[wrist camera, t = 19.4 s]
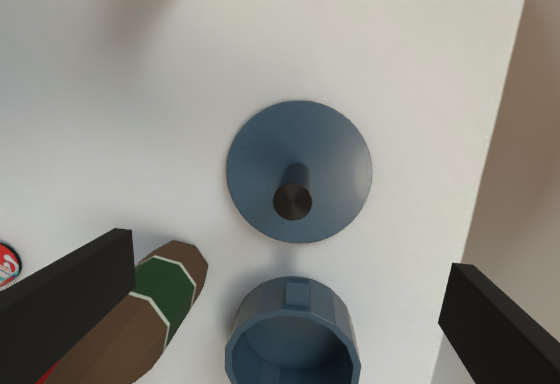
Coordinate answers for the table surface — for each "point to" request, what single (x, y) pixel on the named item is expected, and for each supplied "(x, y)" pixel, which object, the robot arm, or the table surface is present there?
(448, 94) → the table surface
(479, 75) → the table surface
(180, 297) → the beer bottle
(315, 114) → the lid
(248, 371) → the pot
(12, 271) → the beverage can
